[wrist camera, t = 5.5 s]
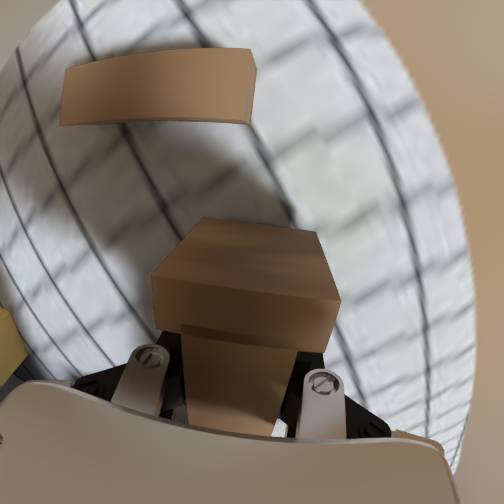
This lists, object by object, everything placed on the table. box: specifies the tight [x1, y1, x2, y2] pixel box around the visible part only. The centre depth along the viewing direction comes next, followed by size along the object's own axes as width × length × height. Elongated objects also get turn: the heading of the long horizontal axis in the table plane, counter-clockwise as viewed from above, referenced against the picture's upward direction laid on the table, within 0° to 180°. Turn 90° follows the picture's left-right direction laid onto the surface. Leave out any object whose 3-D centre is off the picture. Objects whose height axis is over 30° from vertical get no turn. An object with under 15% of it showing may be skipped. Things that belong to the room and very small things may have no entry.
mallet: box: [151, 217, 341, 436], centre depth 12 cm, size 12×20×5 cm, turn 174°
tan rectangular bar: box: [60, 48, 257, 126], centre depth 9 cm, size 7×2×3 cm, turn 84°
